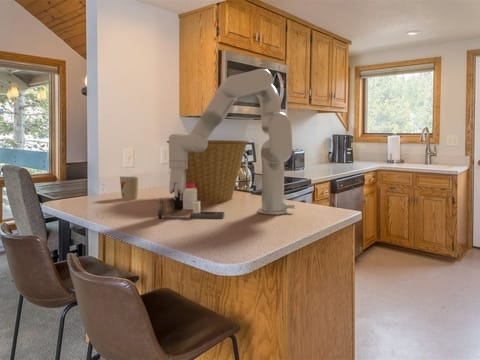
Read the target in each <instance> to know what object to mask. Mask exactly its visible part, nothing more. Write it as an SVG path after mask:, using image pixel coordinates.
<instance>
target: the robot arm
mask: <svg viewBox="0 0 480 360" xmlns="http://www.w3.org/2000/svg"><path fill="white" fill-rule="evenodd" d="M273 81H274V78H273V74H272V73H271V72H270V71H269V70H268V69H265V68H258V69H254V70H250V71H246V72H243V73H239V74H233V75H230V76H228V77H226V78H225V79H224V80H223V81H222V82H221V83H220V85H219V87H218V89H217V90H216V92H215V93H214V95H213V97H212V98H211V99H210V102H209V103H208V105H207V106H206V108H205V109H204V111H203V113H202V114H201V116H200V118H199V119H198V121H196V124H195V125H194V127H193V128H192V130H191V131H190V133H189V134H184V133H173V134H170V135H169V136H168V141H169V143H168V169H170V173H169V194H173V193H174V194H173V195H174V198H173V199H175V200H174V204H175V210H181V211H183V210H184V209H183V192H184V191H185V190H186V170H185V169H188V151H189V152H196V153H200V152H203V151H204V150H205V149H206V148H207V146H208V141H207V140H209V138H210V136H211V134H212V133H213V131H214V130H215V129H217V127H218V126H219V125H220V124H221V123H222V122H223V121H224V120H225V118H226V117H227V115H228V114H229V112H230V110H232V107H233V105H234V104H235V103H236V101H237V99H238V98H239V97H244V96H249V95H252V94H254V95H255V96H256V97H257V99H258V101H259V108H260V118H261V119H260V121H261V129H262V132H263V133H264V134H266V135H268V139H267V140H266V141H264V142H263V143H262V145H261V149H260V158H261V207H259V208H258V209H257V212H258V213H259V214H262V215H263V214H264V215H269V216H270V215H272V216H273V215H277V216H278V215H284V214H287V213H288V209H295V203H286V202H285V163H286V162H287V161H289V159H290V158H291V157H292V154H293V133H292V124H291V119H290V118H289V116H288V115H287V114H286V113H285V112H282V107H281V98H280V94H279V92H278V90H277V88H276V86H274V85H273Z"/></svg>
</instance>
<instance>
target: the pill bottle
mask: <svg viewBox="0 0 480 360" xmlns="http://www.w3.org/2000/svg"><path fill="white" fill-rule="evenodd" d="M194 201H197V189H196V188H195V184H193V183H186V190H185V191H184V192H183V210H193V202H194Z"/></svg>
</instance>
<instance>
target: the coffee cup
mask: <svg viewBox="0 0 480 360" xmlns="http://www.w3.org/2000/svg"><path fill="white" fill-rule="evenodd" d="M119 182H120V192H121V199H122V200H123V199H124V201H134V199H135V200H137V199H138V195H139V175H138V174H123V175H122V174H121V175H120V177H119Z"/></svg>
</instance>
